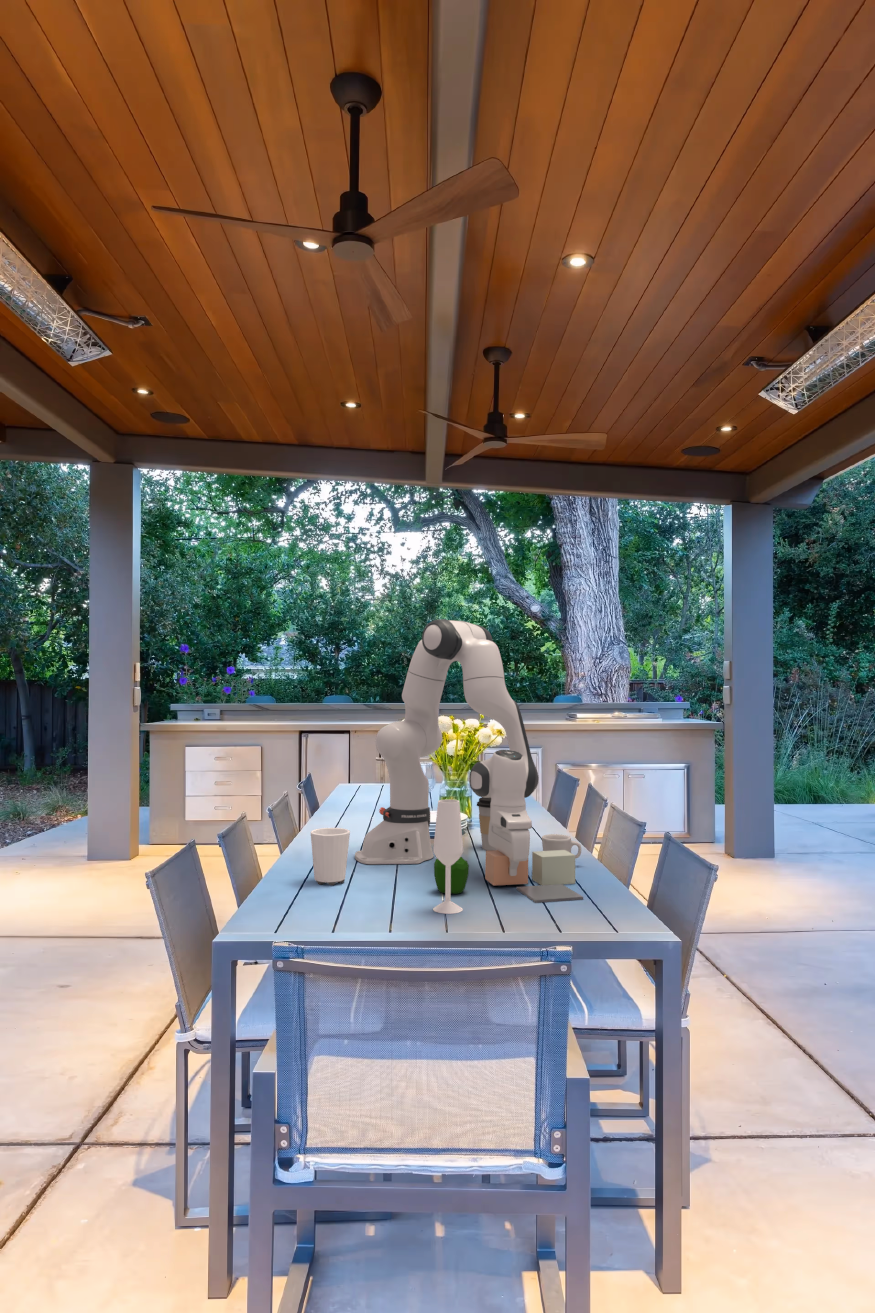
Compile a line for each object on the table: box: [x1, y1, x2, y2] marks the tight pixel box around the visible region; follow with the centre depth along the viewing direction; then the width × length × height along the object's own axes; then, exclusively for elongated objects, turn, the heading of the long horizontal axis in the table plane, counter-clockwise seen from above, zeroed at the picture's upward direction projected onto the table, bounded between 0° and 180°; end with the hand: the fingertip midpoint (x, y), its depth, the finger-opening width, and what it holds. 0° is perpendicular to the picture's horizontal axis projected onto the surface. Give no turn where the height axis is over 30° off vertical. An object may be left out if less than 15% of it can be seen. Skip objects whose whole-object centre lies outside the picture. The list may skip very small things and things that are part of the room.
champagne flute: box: [432, 799, 464, 915], centre depth 181 cm, size 7×7×24 cm
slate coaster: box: [516, 884, 584, 904], centre depth 194 cm, size 12×12×1 cm
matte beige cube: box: [531, 850, 576, 886], centre depth 206 cm, size 9×6×7 cm
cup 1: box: [310, 827, 351, 887], centre depth 204 cm, size 10×10×13 cm
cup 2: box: [541, 833, 582, 860], centre depth 223 cm, size 11×8×8 cm
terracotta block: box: [484, 850, 529, 886], centre depth 203 cm, size 9×6×7 cm
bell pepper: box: [433, 856, 470, 894], centre depth 196 cm, size 8×8×10 cm
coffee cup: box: [476, 797, 496, 851], centre depth 245 cm, size 9×9×15 cm
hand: (506, 871), depth 203 cm, fingers closed on terracotta block, 6 cm apart
